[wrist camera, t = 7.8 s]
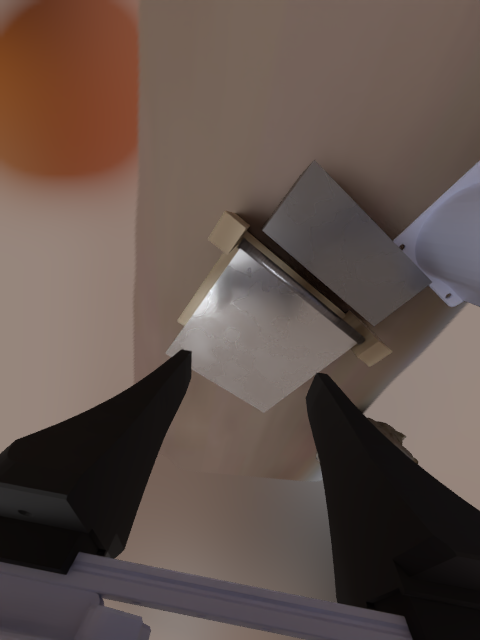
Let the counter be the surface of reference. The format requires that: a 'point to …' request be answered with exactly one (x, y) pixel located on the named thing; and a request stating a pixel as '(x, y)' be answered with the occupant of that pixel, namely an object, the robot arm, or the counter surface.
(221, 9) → the counter surface
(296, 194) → the trapdoor
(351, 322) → the frame
